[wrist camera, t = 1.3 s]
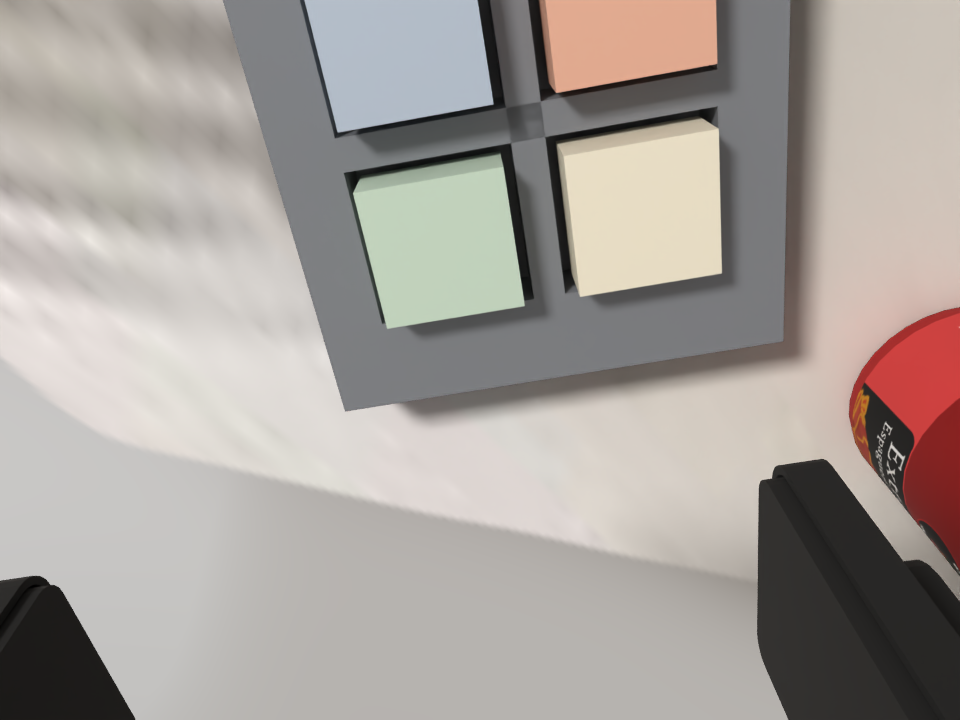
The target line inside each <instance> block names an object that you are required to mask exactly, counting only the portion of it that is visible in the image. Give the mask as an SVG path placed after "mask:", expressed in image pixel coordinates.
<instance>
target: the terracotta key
mask: <svg viewBox="0 0 960 720" xmlns="http://www.w3.org/2000/svg"><path fill="white" fill-rule="evenodd" d="M539 9H540V17H541V25H542V34H543V42H544V50H545V58H546V67H547V75H548V83H549V84H550V85H551V87H552V88H553V89H554V91H555V92H556V93H559V92H565V91H570V90H576V89H581V88H587V87H592V86H598V85H603V84H609V83H614V82H620V81H625V80H631V79H636V78H642V77H647V76H653V75H658V74H664V73H670V72H675V71H681V70H686V69H692V68H697V67H703V66H708V65H714V64H717V21H716V0H539Z"/></svg>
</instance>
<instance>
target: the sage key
mask: <svg viewBox="0 0 960 720" xmlns="http://www.w3.org/2000/svg"><path fill="white" fill-rule="evenodd" d="M353 195H354V199H355V203H356V207H357V211H358V215H359V219H360V223H361V227H362V231H363V235H364V239H365V243H366V247H367V251H368V255H369V259H370V263H371V267H372V271H373V275H374V279H375V282H376V286H377V290H378V294H379V298H380V302H381V306H382V310H383V314H384V318H385V322H386V326H387V329H389V328H395V327H401V326H407V325H413V324H419V323H426V322H432V321H438V320H444V319H450V318H456V317H462V316H468V315H474V314H480V313H486V312H492V311H498V310H504V309H510V308H516V307H522V306H525V304H524V297H523V291H522V284H521V278H520V271H519V265H518V259H517V252H516V246H515V239H514V233H513V226H512V220H511V213H510V207H509V200H508V194H507V187H506V181H505V175H504V168H503V163H502V159H501V154H500V151H498V152H492V153H487V154H481V155H475V156H470V157H464V158H459V159H453V160H447V161H442V162H436V163H430V164H425V165H419V166H414V167H408V168H402V169H397V170H391V171H385V172H380V173H374V174H368V175H363V176H361V177H360V179H359V182H358V184H357V186H356V188H355V190H354V192H353Z"/></svg>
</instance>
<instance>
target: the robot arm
mask: <svg viewBox="0 0 960 720" xmlns="http://www.w3.org/2000/svg"><path fill="white" fill-rule="evenodd" d="M757 618H758V619H757V635H758V644H759V648H760V653H761V656H762V659H763V662H764V665H765V667H766V669H767V672H768V674H769V676H770V679H771V681H772V683H773V685H774V688H775V690H776V692H777V695H778V697H779V699H780V701H781V704H782V706H783V708H784V711H785V713H786V715H787V717H788V720H960V601H959V600H958V599H957V598H956V596H955V595H954V594H953V592H952V591H951V590H950V589H949V587H948V586H947V585H946V584H945V582H944V581H943V580H942V579H941V577H940V576H939V575H938V574H937V573H936V572H935V571H934V570H933V569H932V568H931V567H930V566H929V565H928V564H926V563H924V562H922V561H921V560H911V561H904V562H903V560H902V559H901V558H900V556H899V555H898V554H897V552H896V551H895V550H894V548H893V547H892V546H891V544H890V543H889V542H888V540H887V539H886V538H885V536H884V535H883V534H882V532H881V531H880V530H879V528H878V527H877V526H876V524H875V523H874V522H873V520H872V519H871V518H870V516H869V515H868V514H867V512H866V511H865V509H864V508H863V507H862V505H861V504H860V503H859V501H858V500H857V499H856V497H855V496H854V495H853V493H852V492H851V491H850V489H849V488H848V487H847V485H846V484H845V483H844V481H843V480H842V479H841V477H840V476H839V475H838V473H837V472H836V471H835V469H834V468H833V467H832V465H831V464H830V463H829V462H828V461H826V460H824V459H819V460H812V461H805V462H799V463H792V464H785V465H778V466H776V467H775V468H774V471H773V476H772V479H766V480H762V481H761V482H760V484H759V522H758V615H757ZM0 720H135V717H134V716H133V714H132V712H131V710H130V709H129V707H128V705H127V703H126V702H125V700H124V698H123V697H122V695H121V693H120V691H119V690H118V688H117V686H116V684H115V683H114V681H113V679H112V677H111V676H110V674H109V672H108V670H107V669H106V667H105V665H104V663H103V662H102V660H101V658H100V656H99V655H98V653H97V651H96V650H95V648H94V646H93V644H92V643H91V641H90V639H89V637H88V635H87V634H86V632H85V630H84V629H83V627H82V625H81V623H80V621H79V620H78V618H77V616H76V615H75V613H74V611H73V609H72V608H71V606H70V604H69V602H68V601H67V599H66V597H65V595H64V594H63V592H62V591H61V590H60V588H59V587H57V586H55V585H50V584H49V582H48V581H47V580H46V579H44V578H42V577H41V576H29V577H23V578H16V579H9V580H2V581H0Z"/></svg>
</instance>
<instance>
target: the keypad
mask: <svg viewBox="0 0 960 720" xmlns="http://www.w3.org/2000/svg"><path fill="white" fill-rule="evenodd" d="M223 2H224V6H225V9H226V12H227V16H228V19H229V22H230V26H231V29H232V33H233V36H234V39H235V43H236V46H237V49H238V53H239V56H240V59H241V63H242V66H243V69H244V73H245V76H246V80H247V83H248V86H249V90H250V93H251V96H252V100H253V103H254V106H255V110H256V113H257V117H258V120H259V123H260V127H261V130H262V133H263V137H264V140H265V143H266V147H267V150H268V154H269V157H270V160H271V164H272V167H273V170H274V174H275V177H276V180H277V184H278V187H279V191H280V194H281V197H282V201H283V204H284V207H285V211H286V214H287V217H288V221H289V224H290V228H291V231H292V234H293V238H294V241H295V244H296V248H297V251H298V254H299V258H300V261H301V264H302V268H303V271H304V275H305V278H306V281H307V285H308V288H309V291H310V295H311V298H312V301H313V305H314V308H315V312H316V315H317V318H318V322H319V325H320V328H321V332H322V335H323V338H324V342H325V345H326V349H327V352H328V355H329V359H330V362H331V365H332V369H333V372H334V375H335V379H336V382H337V386H338V389H339V392H340V396H341V399H342V402H343V406H344V409H345V411H351V410H357V409H364V408H370V407H376V406H382V405H389V404H395V403H401V402H407V401H414V400H420V399H426V398H432V397H439V396H445V395H451V394H457V393H464V392H470V391H476V390H482V389H489V388H495V387H501V386H507V385H514V384H520V383H526V382H532V381H539V380H545V379H551V378H558V377H564V376H570V375H576V374H583V373H589V372H595V371H601V370H608V369H614V368H620V367H626V366H633V365H639V364H645V363H651V362H658V361H664V360H670V359H676V358H683V357H689V356H695V355H701V354H708V353H714V352H720V351H726V350H733V349H739V348H745V347H751V346H758V345H764V344H770V343H777V342H783V335H784V286H785V237H786V188H787V138H788V89H789V40H790V0H716V21H717V64H714V65H708V66H703V67H697V68H692V69H686V70H681V71H675V72H670V73H664V74H658V75H653V76H647V77H642V78H636V79H631V80H625V81H620V82H614V83H609V84H603V85H598V86H592V87H587V88H581V89H576V90H570V91H565V92H559V93H556V92H555V91H554V89H553V88H552V87H551V85H550V84H549V83H548V75H547V67H546V58H545V50H544V42H543V34H542V25H541V17H540V9H539V0H478V7H479V13H480V20H481V26H482V33H483V39H484V45H485V52H486V58H487V65H488V71H489V78H490V84H491V91H492V97H493V105H487V106H482V107H476V108H471V109H465V110H460V111H454V112H449V113H443V114H438V115H432V116H427V117H421V118H416V119H410V120H405V121H399V122H393V123H388V124H382V125H377V126H371V127H366V128H360V129H355V130H349V131H344V132H337V128H336V124H335V120H334V116H333V112H332V108H331V104H330V100H329V96H328V92H327V88H326V84H325V80H324V76H323V72H322V68H321V64H320V60H319V56H318V52H317V48H316V44H315V40H314V36H313V32H312V28H311V24H310V20H309V16H308V12H307V8H306V4H305V1H304V0H223ZM695 116H699V117H701V118H702V119H704V120H706V121H707V122H709V123H710V124H712V125H713V126H715V127H717V128H718V129H719V162H720V209H721V256H722V273H721V274H715V275H709V276H703V277H697V278H691V279H685V280H679V281H673V282H667V283H661V284H655V285H649V286H643V287H637V288H631V289H625V290H619V291H613V292H607V293H601V294H595V295H589V296H583V297H580V295H579V293H578V290H577V287H576V284H575V282H574V279H573V276H572V273H571V265H570V257H569V249H568V241H567V232H566V224H565V216H564V207H563V199H562V191H561V183H560V174H559V166H558V158H557V149H556V141H560V140H566V139H571V138H577V137H583V136H588V135H594V134H599V133H605V132H611V131H616V130H622V129H628V128H633V127H639V126H644V125H650V124H656V123H661V122H667V121H673V120H678V119H684V118H690V117H695ZM498 151H500V154H501V159H502V163H503V168H504V175H505V181H506V187H507V194H508V200H509V207H510V213H511V220H512V226H513V233H514V239H515V246H516V252H517V259H518V265H519V271H520V278H521V284H522V291H523V297H524V304H525V306H522V307H516V308H510V309H504V310H498V311H492V312H486V313H480V314H474V315H468V316H462V317H456V318H450V319H444V320H438V321H432V322H426V323H419V324H413V325H407V326H401V327H395V328H389V329H387V326H386V322H385V318H384V314H383V310H382V306H381V302H380V298H379V294H378V290H377V286H376V282H375V279H374V275H373V271H372V267H371V263H370V259H369V255H368V251H367V247H366V243H365V239H364V235H363V231H362V227H361V223H360V219H359V215H358V211H357V207H356V203H355V199H354V195H353V192H354V190H355V188H356V186H357V184H358V182H359V179H360V177H361V176H363V175H368V174H374V173H380V172H385V171H391V170H397V169H402V168H408V167H414V166H419V165H425V164H430V163H436V162H442V161H447V160H453V159H459V158H464V157H470V156H475V155H481V154H487V153H492V152H498Z"/></svg>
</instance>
